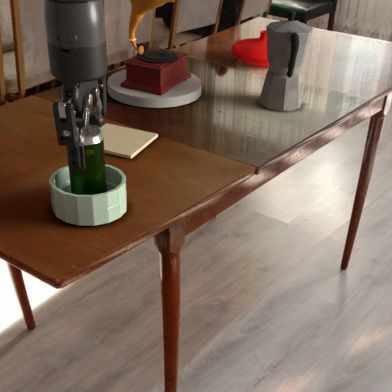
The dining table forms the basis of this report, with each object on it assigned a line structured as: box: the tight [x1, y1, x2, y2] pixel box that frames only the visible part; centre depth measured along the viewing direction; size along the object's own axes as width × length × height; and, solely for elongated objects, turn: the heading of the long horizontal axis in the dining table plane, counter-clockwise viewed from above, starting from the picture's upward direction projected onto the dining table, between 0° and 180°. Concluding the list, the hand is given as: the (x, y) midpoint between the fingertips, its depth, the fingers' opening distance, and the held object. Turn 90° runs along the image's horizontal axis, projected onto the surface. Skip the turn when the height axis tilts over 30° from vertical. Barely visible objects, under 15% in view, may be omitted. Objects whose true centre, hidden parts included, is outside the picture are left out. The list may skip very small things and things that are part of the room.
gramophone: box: [106, 0, 202, 109], centre depth 129 cm, size 20×20×25 cm
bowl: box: [48, 163, 128, 227], centre depth 95 cm, size 11×11×5 cm
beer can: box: [65, 124, 107, 195], centre depth 92 cm, size 5×5×12 cm
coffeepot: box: [258, 9, 314, 112], centre depth 127 cm, size 15×9×18 cm, turn 2°
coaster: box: [101, 122, 159, 160], centre depth 116 cm, size 11×11×1 cm
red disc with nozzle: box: [230, 29, 269, 68], centre depth 152 cm, size 16×16×7 cm
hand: (86, 159), depth 91 cm, fingers open, 6 cm apart
